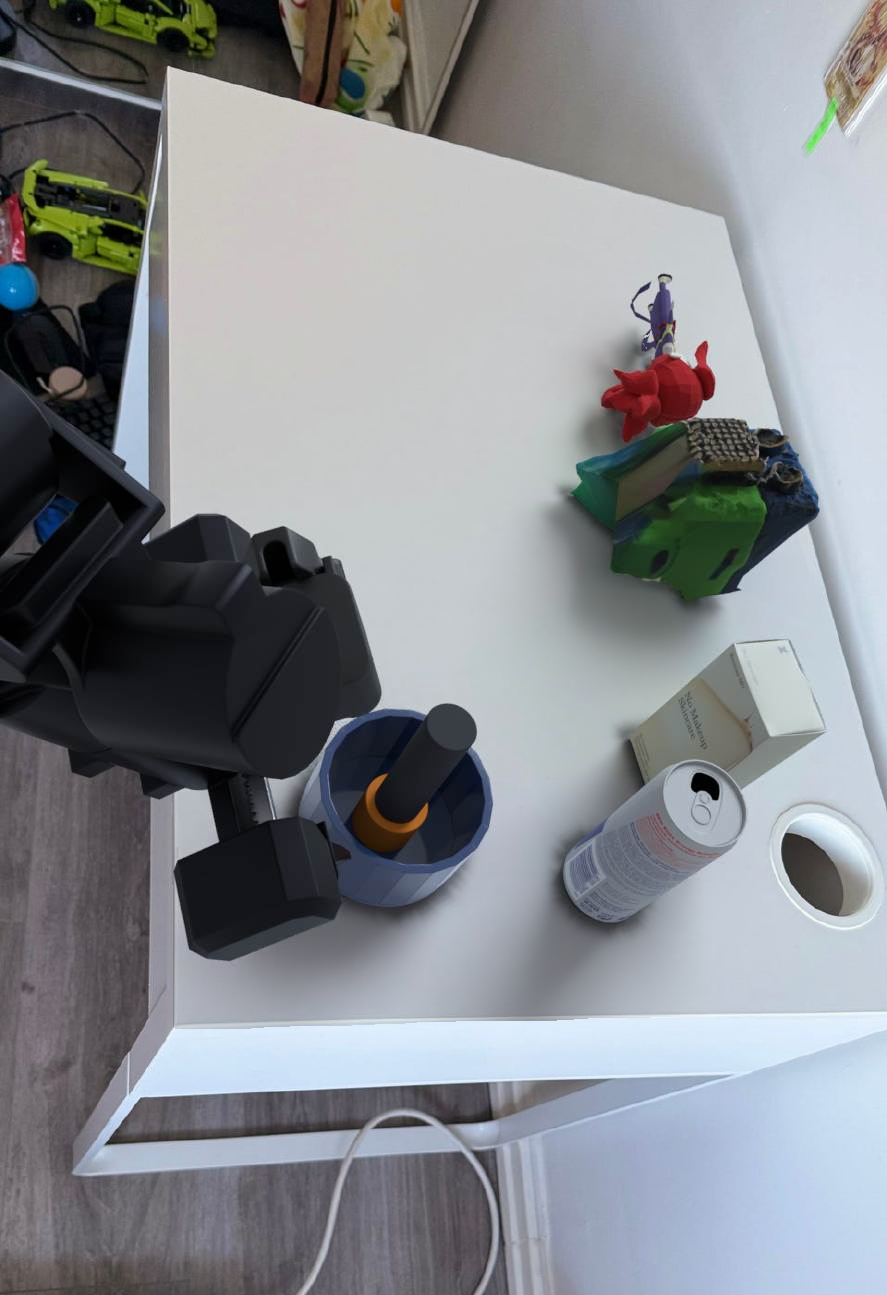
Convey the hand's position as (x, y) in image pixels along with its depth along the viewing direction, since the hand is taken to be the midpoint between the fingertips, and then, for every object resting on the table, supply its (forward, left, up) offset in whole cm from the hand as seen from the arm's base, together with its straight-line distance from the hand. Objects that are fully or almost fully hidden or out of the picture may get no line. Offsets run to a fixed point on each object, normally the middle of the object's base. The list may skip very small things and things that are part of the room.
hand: (320, 772), depth 54 cm
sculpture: (+20, +31, -9) cm, 38 cm away
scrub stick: (+5, +2, -8) cm, 10 cm away
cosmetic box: (+23, +12, -9) cm, 28 cm away
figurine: (+17, +46, -9) cm, 50 cm away
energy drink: (+19, +3, -9) cm, 21 cm away
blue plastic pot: (+5, +2, -8) cm, 10 cm away
